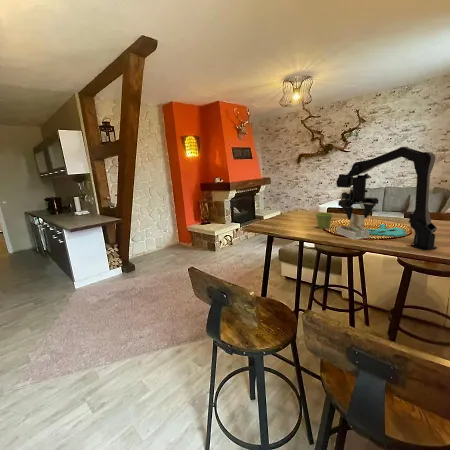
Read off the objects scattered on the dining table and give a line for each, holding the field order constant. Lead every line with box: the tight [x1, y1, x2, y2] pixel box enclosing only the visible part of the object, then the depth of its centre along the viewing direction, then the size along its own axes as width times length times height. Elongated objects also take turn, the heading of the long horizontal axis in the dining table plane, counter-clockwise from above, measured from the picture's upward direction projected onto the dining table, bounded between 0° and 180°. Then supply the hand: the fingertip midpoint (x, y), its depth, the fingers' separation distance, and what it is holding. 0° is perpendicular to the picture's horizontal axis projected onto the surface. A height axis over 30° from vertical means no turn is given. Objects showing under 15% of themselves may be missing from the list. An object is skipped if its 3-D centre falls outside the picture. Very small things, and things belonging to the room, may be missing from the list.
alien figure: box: [364, 223, 407, 238], centre depth 133 cm, size 20×2×20 cm
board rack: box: [334, 224, 371, 240], centre depth 130 cm, size 14×10×4 cm
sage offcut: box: [350, 227, 360, 237], centre depth 128 cm, size 6×1×4 cm, turn 11°
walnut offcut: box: [340, 225, 351, 231], centre depth 131 cm, size 6×1×4 cm, turn 11°
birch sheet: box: [349, 213, 366, 232], centre depth 130 cm, size 9×1×10 cm, turn 11°
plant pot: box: [315, 212, 334, 229], centre depth 148 cm, size 9×9×9 cm
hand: (357, 218), depth 129 cm, fingers open, 9 cm apart
